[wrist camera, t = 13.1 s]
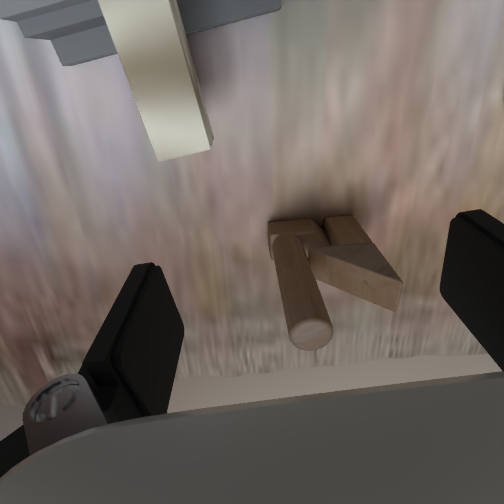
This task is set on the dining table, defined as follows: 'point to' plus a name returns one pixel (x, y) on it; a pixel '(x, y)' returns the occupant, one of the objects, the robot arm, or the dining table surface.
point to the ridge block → (96, 30)
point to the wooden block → (326, 273)
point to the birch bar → (160, 74)
